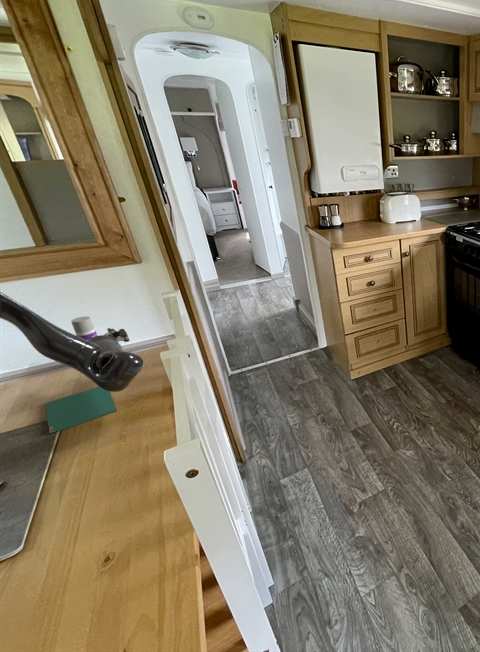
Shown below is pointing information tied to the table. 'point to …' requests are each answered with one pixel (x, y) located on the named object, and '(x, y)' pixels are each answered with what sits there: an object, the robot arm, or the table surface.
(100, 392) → the napkin
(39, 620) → the table surface
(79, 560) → the table surface
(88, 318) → the container
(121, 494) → the table surface
